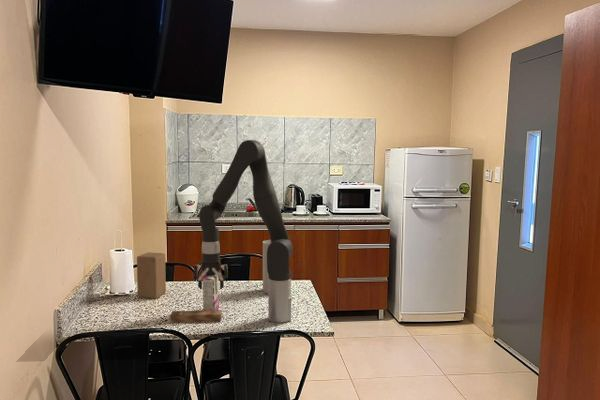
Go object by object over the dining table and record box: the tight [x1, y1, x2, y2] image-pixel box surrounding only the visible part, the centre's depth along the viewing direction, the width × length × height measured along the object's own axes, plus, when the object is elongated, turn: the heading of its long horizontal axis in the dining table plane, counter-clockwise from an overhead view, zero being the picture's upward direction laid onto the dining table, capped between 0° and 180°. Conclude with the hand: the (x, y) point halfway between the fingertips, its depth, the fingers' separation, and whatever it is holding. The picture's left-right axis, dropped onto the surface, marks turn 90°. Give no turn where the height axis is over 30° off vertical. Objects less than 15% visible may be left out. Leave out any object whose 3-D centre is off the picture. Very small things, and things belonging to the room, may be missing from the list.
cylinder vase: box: [262, 239, 271, 295], centre depth 231 cm, size 12×12×25 cm
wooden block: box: [136, 251, 167, 300], centre depth 222 cm, size 10×10×20 cm
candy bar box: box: [202, 274, 220, 311], centre depth 199 cm, size 11×5×16 cm, turn 0°
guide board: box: [169, 309, 223, 323], centre depth 191 cm, size 20×5×3 cm, turn 94°
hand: (211, 288), depth 199 cm, fingers open, 8 cm apart
